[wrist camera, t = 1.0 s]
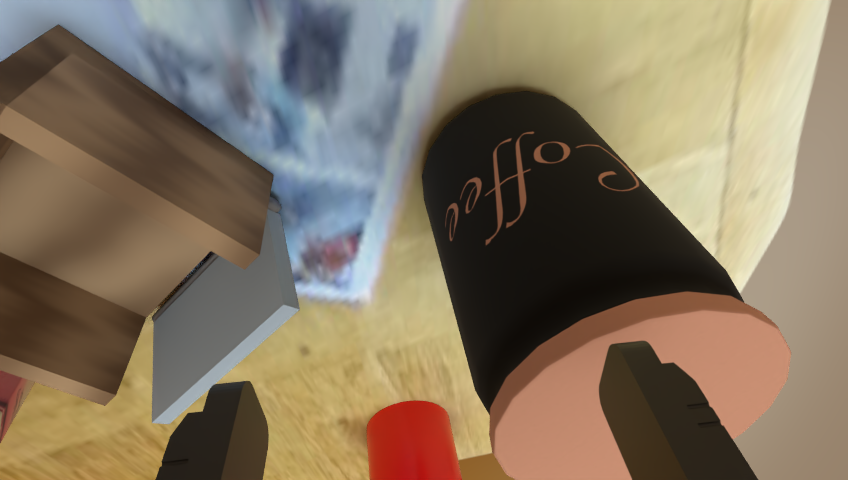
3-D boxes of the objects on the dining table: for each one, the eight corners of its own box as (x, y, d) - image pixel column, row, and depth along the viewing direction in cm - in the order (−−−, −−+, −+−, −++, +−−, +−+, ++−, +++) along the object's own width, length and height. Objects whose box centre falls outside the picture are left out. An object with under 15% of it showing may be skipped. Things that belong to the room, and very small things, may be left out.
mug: (369, 474, 52) (375, 558, 46) (364, 405, 45) (370, 494, 39) (444, 464, 53) (459, 545, 47) (451, 396, 46) (470, 480, 40)
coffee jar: (583, 60, 28) (834, 270, 14) (586, 210, 35) (759, 454, 21) (400, 111, 29) (468, 366, 15) (438, 250, 35) (509, 518, 21)
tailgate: (152, 311, 34) (150, 424, 29) (266, 194, 30) (286, 302, 25) (166, 315, 35) (167, 425, 30) (280, 201, 30) (302, 307, 26)
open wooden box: (-65, 216, 28) (-168, 313, 22) (58, 24, 23) (-32, 83, 18) (143, 311, 35) (105, 405, 29) (273, 175, 30) (259, 254, 24)
